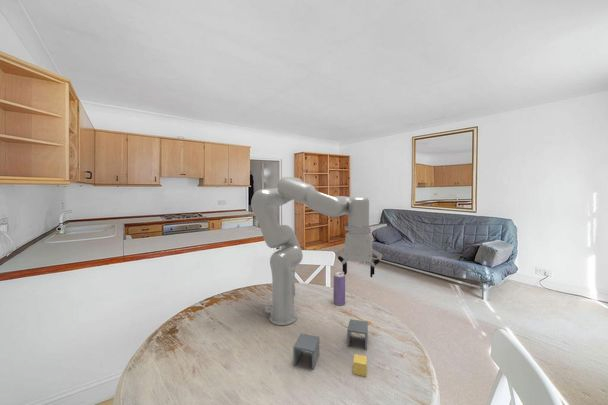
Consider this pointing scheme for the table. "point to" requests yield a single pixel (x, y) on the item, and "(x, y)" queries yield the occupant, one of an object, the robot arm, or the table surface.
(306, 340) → the left cover
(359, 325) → the right cover
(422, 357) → the table surface
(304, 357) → the table surface
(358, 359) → the cube
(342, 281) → the beverage can
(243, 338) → the table surface
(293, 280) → the plastic bottle
